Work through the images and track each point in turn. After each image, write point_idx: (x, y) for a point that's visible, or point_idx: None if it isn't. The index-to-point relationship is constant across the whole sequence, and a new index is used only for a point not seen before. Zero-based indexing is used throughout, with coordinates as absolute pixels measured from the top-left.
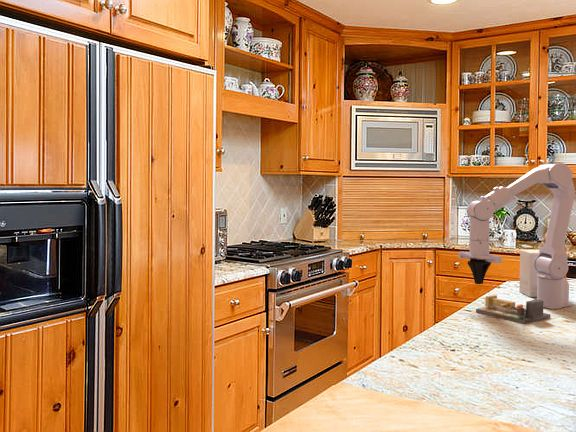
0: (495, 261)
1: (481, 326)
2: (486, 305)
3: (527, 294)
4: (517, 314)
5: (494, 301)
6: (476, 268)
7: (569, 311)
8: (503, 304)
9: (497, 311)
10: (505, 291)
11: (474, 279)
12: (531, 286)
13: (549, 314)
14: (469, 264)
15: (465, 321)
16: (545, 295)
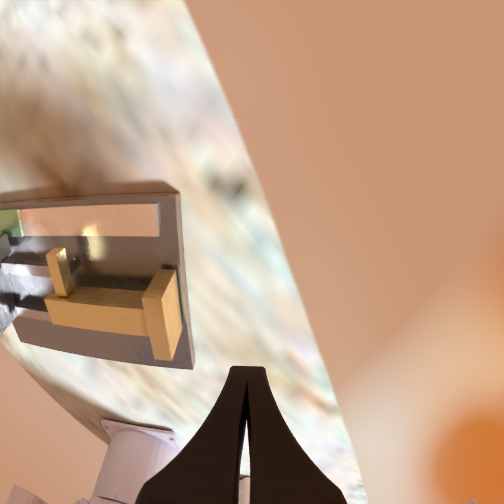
0: (23, 502)
1: (24, 33)
2: (167, 271)
3: None
4: (4, 234)
5: (129, 301)
6: (219, 462)
7: (80, 420)
8: (51, 265)
9: (79, 231)
10: (331, 477)
11: (264, 386)
12: (242, 502)
13: (20, 339)
14: (310, 487)
15: (94, 15)
16: (121, 454)
